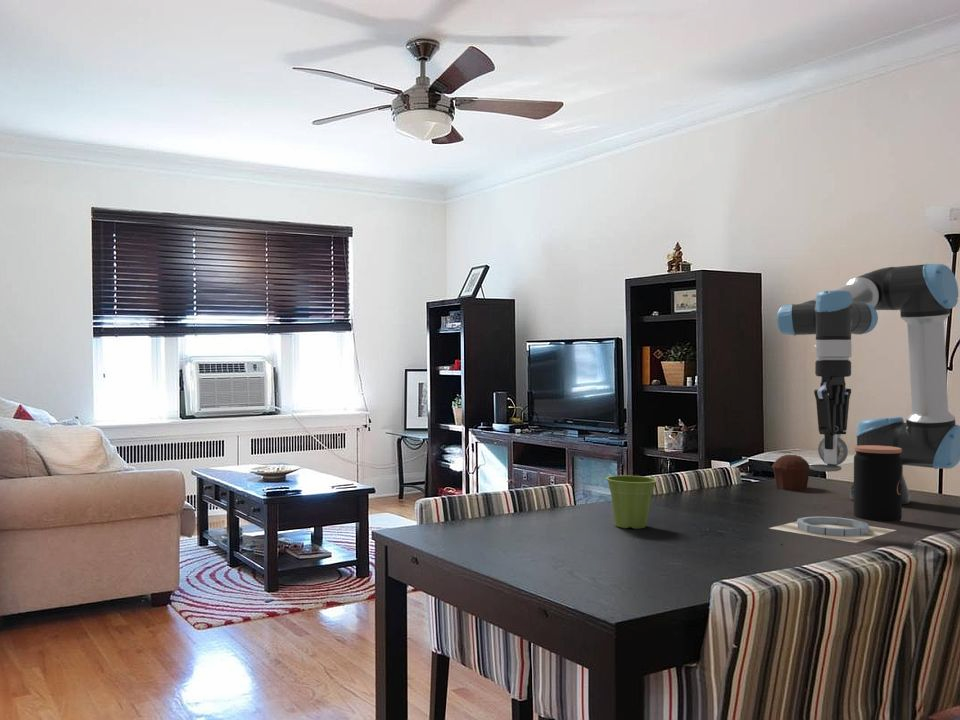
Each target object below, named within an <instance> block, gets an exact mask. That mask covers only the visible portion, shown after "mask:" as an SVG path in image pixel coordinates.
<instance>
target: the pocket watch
mask: <svg viewBox="0 0 960 720" xmlns="http://www.w3.org/2000/svg"><path fill="white" fill-rule="evenodd" d="M836 427H837V430H836V431H835V432H837V431H838V430H839V428H838V426H836ZM838 447H839V448H838ZM838 449H840V451H838ZM817 451H818V456H819V458H820V459H821V460H822V462H823V463H824V437H823V438H822V439H821V441H820V442H819V444H818V448H817ZM837 452H840V454H837V464H822V463H821V464H820V463H819V464H818V463H817V464H809V465H810V466H809V467H810V469H811V470H812V471H816V472H817V471H818V472H828V473H830V472H839V471H841V470H842V466H840V465H841V464H843V463H844V461H846V460H847V457H848V454H849V450H848V446H847V443H846V442H845V441H844V440H843V438H842V437H841V438H839V437H837ZM838 455H839V456H838Z"/></svg>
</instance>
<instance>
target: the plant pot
mask: <svg viewBox="0 0 960 720" xmlns="http://www.w3.org/2000/svg"><path fill="white" fill-rule="evenodd" d="M605 480H606V481H607V483H608V488H609V491H610V497H611V505H612V511H613V512H612V513H613V520H614V524H615V527H617V528H622V529H628V528H632V529H633V530H634V529H635V530H639V529H645V528H646V527H647V522H648V518H649V512H650V507H651V500H652V495H653V492H654V489H655V485H656V483H657V482H658V480H657V479H656V478H653V477H649V476H643V475H642V476H641V475H611V476H606V477H605Z"/></svg>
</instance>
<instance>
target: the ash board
mask: <svg viewBox="0 0 960 720" xmlns="http://www.w3.org/2000/svg"><path fill="white" fill-rule="evenodd" d="M811 525H815V526H822V527H831V528H854V527H850V526H844V525H835V524H811ZM768 529H770V530H776V531H783V532H788V533H794V534H800V535H807V536H812V537H817V538H823V539H824V538H825V539H829V540H838V541H843V542H848V543H849V542H850V543H855V544H857V543H860V542H863V541H866V540H870V539H873V538H876V537H879V536H882V535H887V534H889V533H894V532H897V529H890V528H883V527H878V526H872V525H871V526H870V525H869V533H868V534H864V535H860V536H833V535H826V534H825V535H822V534H816V533H810V532H806V531H803V530H800V529H798V527H797V521H792V522H788V523H785V524H781V525H780V524H779V525H776V526H772V527H768Z"/></svg>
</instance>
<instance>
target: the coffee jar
mask: <svg viewBox="0 0 960 720" xmlns="http://www.w3.org/2000/svg"><path fill="white" fill-rule="evenodd" d="M853 450H854V452H855V455H853V482H854V500H853V516H854V518H857V519H861V520H867V521H875V522H896V521H898V522H900V521H901V520H902V518H903V515H902V513H903V504H902V459H901V457H900V453H901V452H902V449H901V448H898V447H891V446H876V445H860V446H857V445H854V447H853Z"/></svg>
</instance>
